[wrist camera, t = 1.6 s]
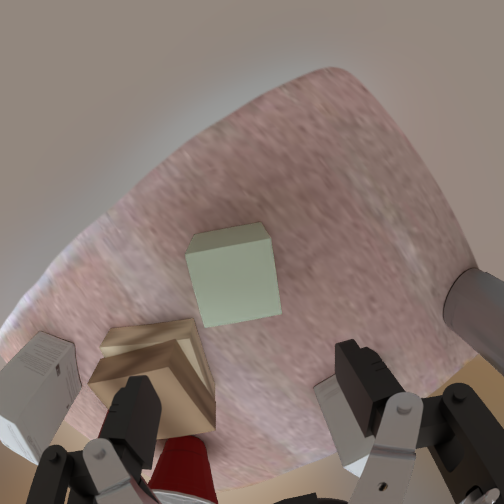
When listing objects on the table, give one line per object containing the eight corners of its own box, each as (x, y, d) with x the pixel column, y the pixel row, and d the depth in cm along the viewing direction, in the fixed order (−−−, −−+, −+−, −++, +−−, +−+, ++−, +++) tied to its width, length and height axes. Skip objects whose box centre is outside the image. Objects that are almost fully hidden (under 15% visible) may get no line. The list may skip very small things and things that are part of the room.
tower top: (175, 338, 23) (168, 366, 20) (215, 401, 26) (215, 430, 22) (100, 358, 24) (87, 384, 20) (145, 415, 26) (139, 441, 23)
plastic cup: (144, 418, 31) (128, 488, 20) (222, 427, 32) (224, 500, 21) (154, 455, 34) (145, 514, 23) (219, 462, 35) (221, 522, 24)
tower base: (193, 316, 27) (189, 338, 24) (215, 383, 30) (214, 407, 26) (111, 326, 27) (99, 347, 23) (141, 389, 30) (135, 411, 26)
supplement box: (311, 386, 31) (341, 468, 19) (362, 355, 31) (410, 428, 18) (333, 411, 33) (361, 481, 21) (378, 384, 33) (418, 449, 21)
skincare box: (82, 387, 29) (44, 470, 15) (47, 374, 28) (3, 447, 14) (74, 339, 27) (16, 427, 13) (36, 326, 26) (-27, 399, 12)
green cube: (260, 221, 25) (270, 238, 19) (270, 283, 27) (282, 313, 21) (194, 234, 25) (184, 254, 19) (208, 294, 26) (204, 327, 21)
